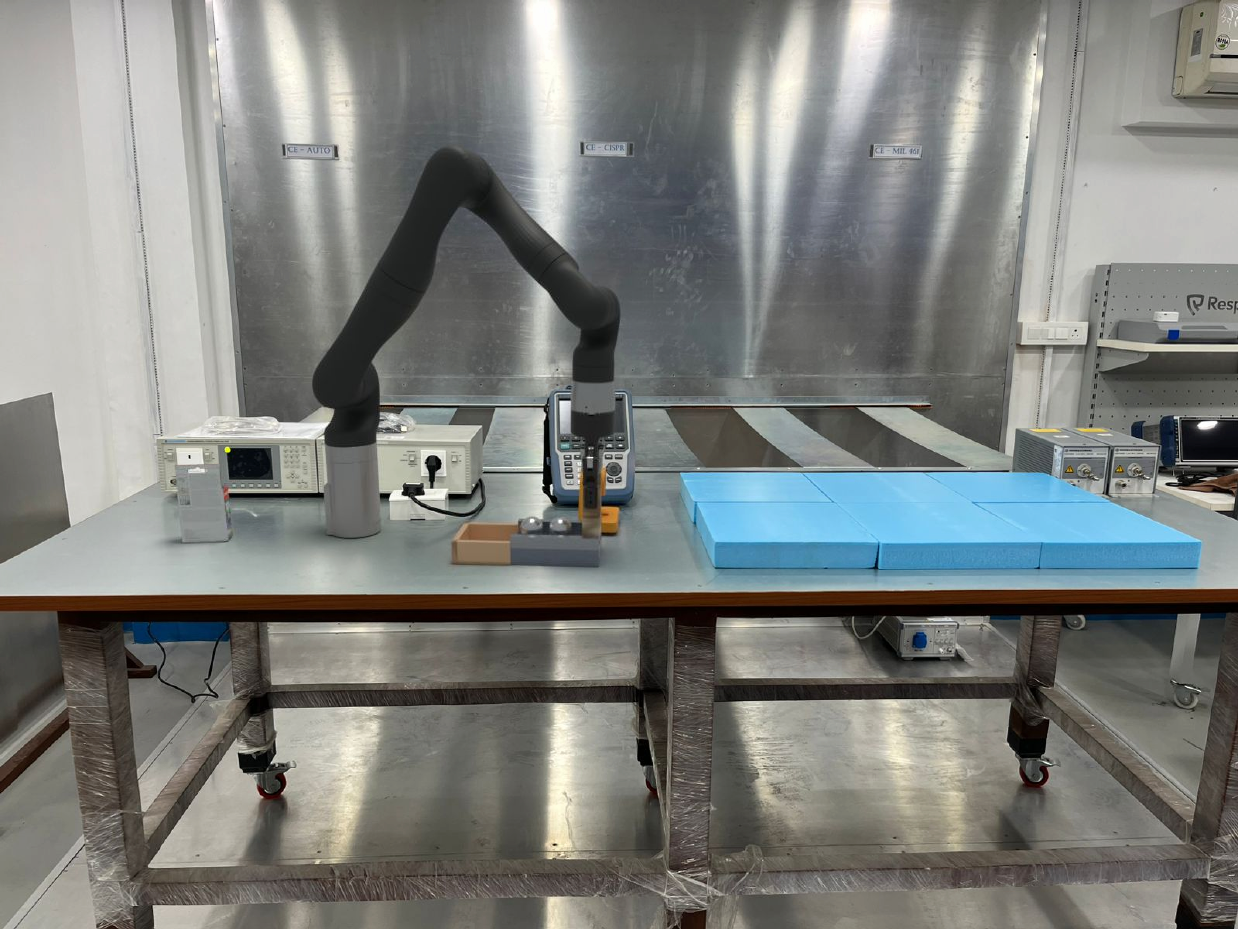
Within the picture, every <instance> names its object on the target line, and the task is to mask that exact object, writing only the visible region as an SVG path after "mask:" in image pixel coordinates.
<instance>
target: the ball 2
mask: <svg viewBox="0 0 1238 929" xmlns="http://www.w3.org/2000/svg"><path fill="white" fill-rule="evenodd" d="M569 520H570V519H567V518H566V517H563V516H562V517H561V516H559V517H556V518H553V520H552V521H551V523H550V525H549V532H550V534H551V535H570V534H571V531H572V526H571V523H570V522H569Z"/></svg>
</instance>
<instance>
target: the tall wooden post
mask: <svg viewBox="0 0 1238 929" xmlns="http://www.w3.org/2000/svg"><path fill="white" fill-rule="evenodd" d="M598 464H599V459H598ZM587 480H595V477H594V476H587ZM598 482H599V486H598V505H597V508H596V509H586V508H585V507H584V500H585V488H584V487H583V518H582V536H599V541H600V535H601V507H602V496H601V485H602V472H601V473H600V474H599V476H598Z"/></svg>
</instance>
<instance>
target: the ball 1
mask: <svg viewBox="0 0 1238 929" xmlns="http://www.w3.org/2000/svg"><path fill="white" fill-rule="evenodd" d="M523 519H524V520H523V522H522V523H521V527H520V529H521V533H522V534H526V535H541V534H542V532H543V523H542V522H541V520H540V519H541V518H539V517H536V516H527V517H525V518H523Z"/></svg>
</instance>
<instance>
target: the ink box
mask: <svg viewBox="0 0 1238 929" xmlns="http://www.w3.org/2000/svg"><path fill="white" fill-rule="evenodd" d="M196 468H198V469H200V470H201V469H203V470H204V469H205V470H207V471H206V472H189V470H195V469H196ZM174 470H175V479H176V489H177V491H176V498H177V507H178V515H179V516H178V517H179V525H180V532H181V541H182V543H183V544H197V543H198V544H200V543H203V544H204V543H222V542H229V541H230V539H231V538H233V534H234V533H233V523H232V515H231V514H232V513H231V505H230V495H229V494H230V493H229V486H228V485H227V484H226V485H223V484H222V476H221V463H204V464H203V463H202V464H200V463H199V464H175V465H174Z"/></svg>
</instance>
